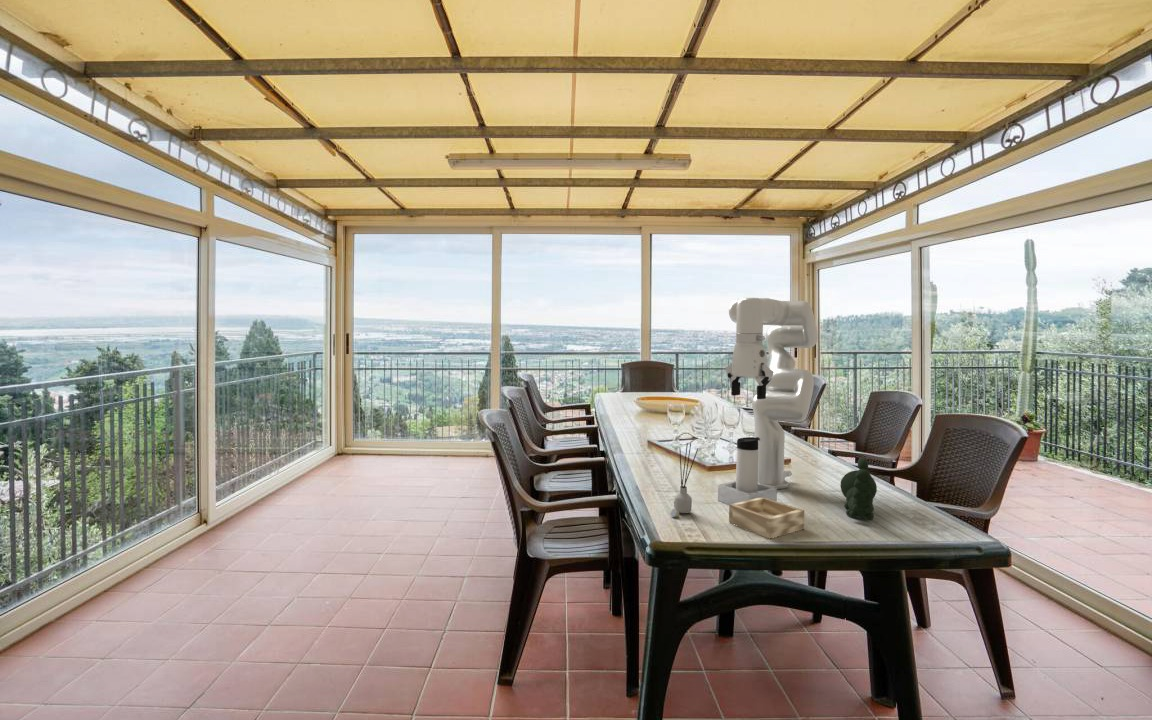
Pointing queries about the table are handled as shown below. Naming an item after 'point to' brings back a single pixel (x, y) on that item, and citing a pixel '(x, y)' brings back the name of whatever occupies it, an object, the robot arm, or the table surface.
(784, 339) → the robot arm
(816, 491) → the table surface
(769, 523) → the light wooden tray
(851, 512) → the toy figurine
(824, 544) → the table surface
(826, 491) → the table surface
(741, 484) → the travel mug
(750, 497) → the open box
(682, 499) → the reed diffuser
